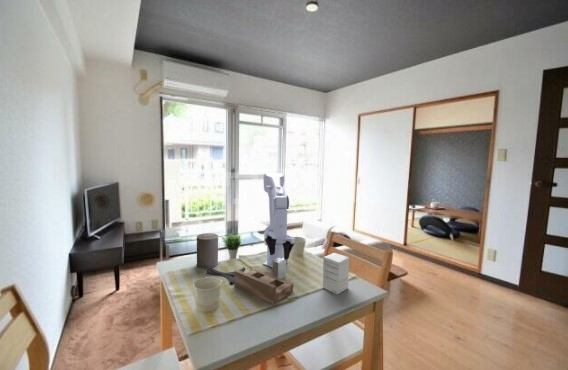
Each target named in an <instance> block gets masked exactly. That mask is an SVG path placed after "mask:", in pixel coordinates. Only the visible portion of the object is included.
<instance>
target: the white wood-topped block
mask: <svg viewBox="0 0 568 370" xmlns="http://www.w3.org/2000/svg"><path fill="white" fill-rule="evenodd" d="M288 260H289V259H287V260H285V259H284V257H280V258H278V259H275V260H273V267H272V273H271V275H272V276H274V277H277V278H279V279H282V280H284V279H286V273H287V272H286V270H287V269H286V267H287V265H286V264H287V263H286V262H288V263H289V261H288Z"/></svg>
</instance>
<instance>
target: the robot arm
mask: <svg viewBox="0 0 568 370" xmlns="http://www.w3.org/2000/svg"><path fill="white" fill-rule="evenodd" d="M262 181H263V190H264V192H266V193H267V195H268V206H269V207H268V210H269V225H268V226H267V227H266V228H265V229H264V236H263V240H264V241H263V242H264V246H266V261H265V262H263V263H262V265H265V266H267V267H270V268H273V260H275V259H278V258H280V257H284V259H285V260H287V259H288V260H289V258H290V255H291V251H292V249H293V247H294V246H295V243H296V237H293V236H291V235H289V234H288V210H289V208H290V198H289V195H287V194H286V192H285V188H284V185H285V175H284V173H271V172H270V173H266V172H264V174H263V180H262ZM288 263H289V261H288V262H286V264H288Z"/></svg>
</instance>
